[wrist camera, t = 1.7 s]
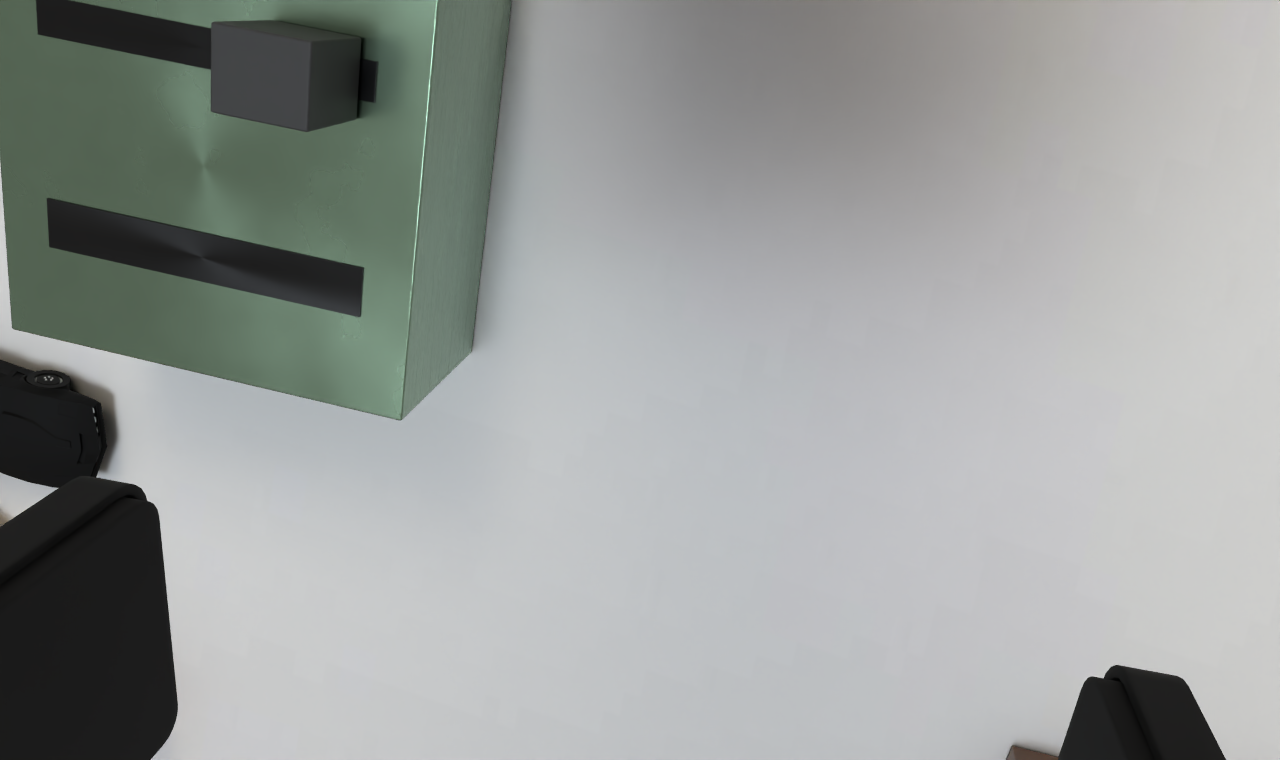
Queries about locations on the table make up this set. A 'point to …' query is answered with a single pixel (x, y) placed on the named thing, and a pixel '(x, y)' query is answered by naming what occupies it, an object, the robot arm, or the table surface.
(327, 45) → the slider
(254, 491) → the table surface
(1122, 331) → the table surface
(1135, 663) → the table surface
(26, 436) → the toy car
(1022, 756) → the control block
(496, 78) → the toaster
